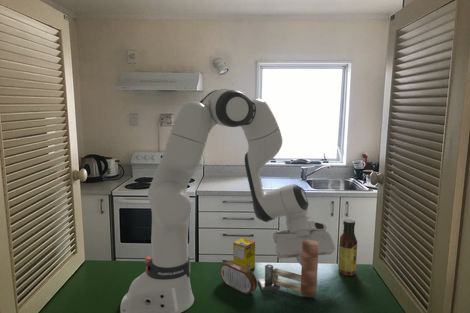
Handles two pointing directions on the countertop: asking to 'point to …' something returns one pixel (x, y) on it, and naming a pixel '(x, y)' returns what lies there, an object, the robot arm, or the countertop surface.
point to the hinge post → (268, 280)
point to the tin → (238, 277)
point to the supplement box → (244, 253)
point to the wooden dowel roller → (302, 271)
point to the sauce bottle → (348, 249)
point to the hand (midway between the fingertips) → (309, 268)
